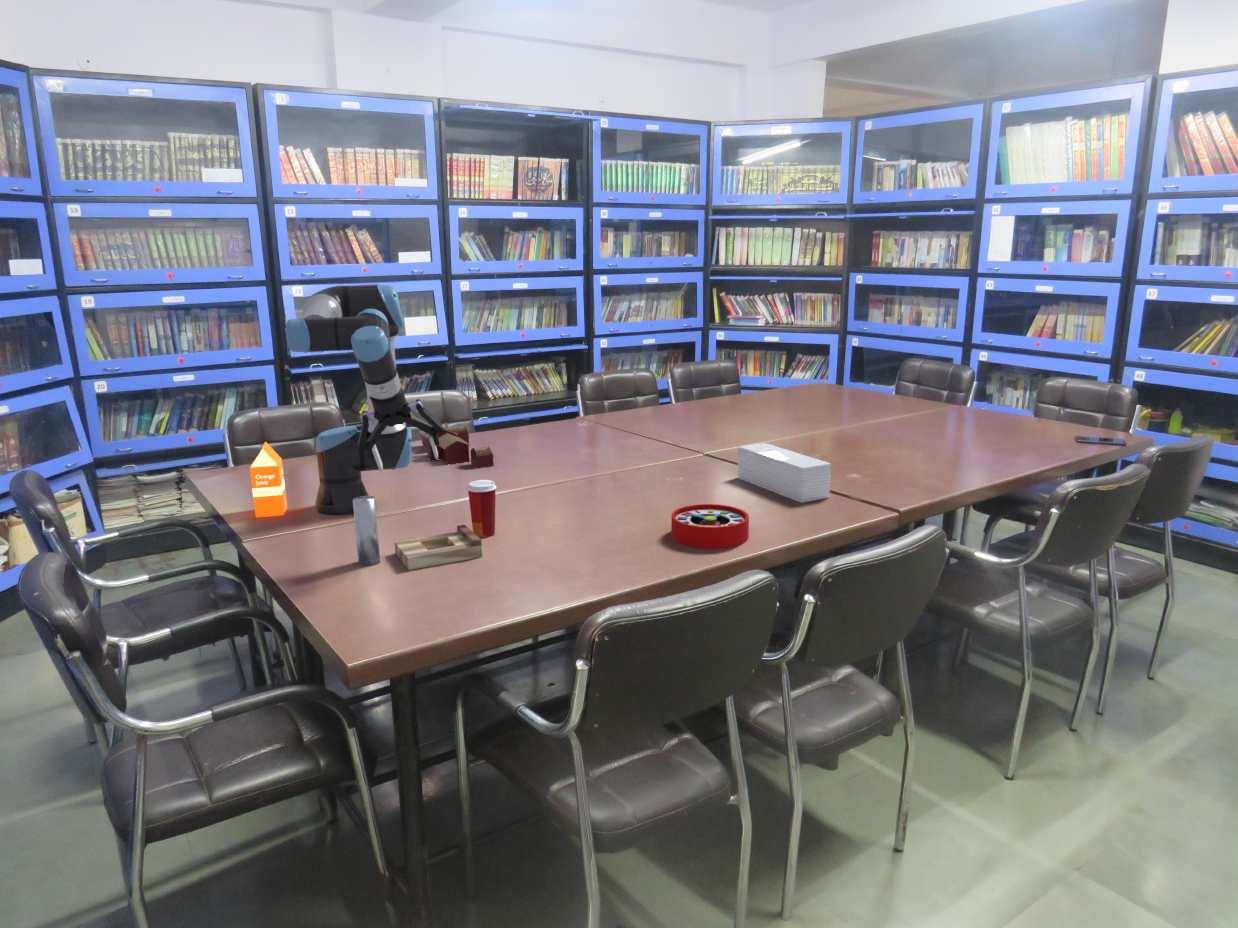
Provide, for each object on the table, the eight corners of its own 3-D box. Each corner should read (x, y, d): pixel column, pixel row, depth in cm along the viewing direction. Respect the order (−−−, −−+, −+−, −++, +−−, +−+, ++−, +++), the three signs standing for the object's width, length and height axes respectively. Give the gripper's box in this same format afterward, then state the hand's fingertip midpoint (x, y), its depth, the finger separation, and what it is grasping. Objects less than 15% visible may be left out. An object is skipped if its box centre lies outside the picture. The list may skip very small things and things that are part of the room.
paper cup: (500, 529, 224) (497, 478, 220) (497, 538, 216) (494, 486, 213) (471, 529, 224) (468, 479, 220) (467, 539, 216) (463, 487, 213)
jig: (395, 553, 207) (394, 536, 205) (465, 541, 215) (464, 524, 214) (408, 570, 195) (407, 552, 194) (482, 556, 204) (481, 539, 203)
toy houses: (415, 447, 321) (413, 421, 318) (467, 441, 330) (465, 416, 327) (444, 474, 282) (442, 445, 279) (502, 466, 290) (501, 438, 288)
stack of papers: (737, 478, 272) (738, 446, 269) (763, 474, 276) (764, 442, 274) (801, 503, 244) (803, 468, 242) (829, 498, 249) (831, 463, 246)
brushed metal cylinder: (356, 560, 202) (350, 497, 198) (377, 557, 204) (372, 494, 200) (361, 567, 198) (354, 503, 194) (382, 563, 200) (376, 499, 196)
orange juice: (255, 517, 236) (246, 449, 231) (259, 508, 245) (251, 442, 240) (284, 514, 238) (276, 447, 233) (287, 506, 247) (280, 440, 242)
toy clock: (721, 533, 202) (655, 517, 214) (721, 555, 203) (655, 539, 216) (763, 513, 217) (699, 499, 229) (762, 534, 218) (699, 519, 231)
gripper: (330, 412, 185) (357, 482, 199) (441, 388, 189) (461, 459, 203) (330, 393, 191) (357, 463, 205) (438, 370, 194) (457, 441, 208)
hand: (409, 461), depth 204 cm, fingers open, 13 cm apart
